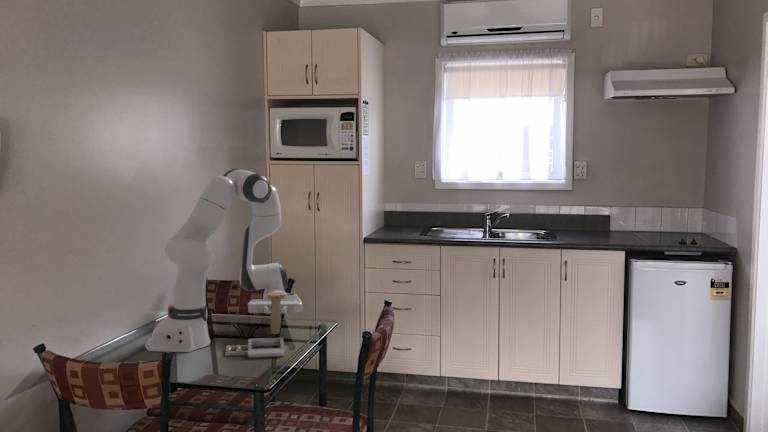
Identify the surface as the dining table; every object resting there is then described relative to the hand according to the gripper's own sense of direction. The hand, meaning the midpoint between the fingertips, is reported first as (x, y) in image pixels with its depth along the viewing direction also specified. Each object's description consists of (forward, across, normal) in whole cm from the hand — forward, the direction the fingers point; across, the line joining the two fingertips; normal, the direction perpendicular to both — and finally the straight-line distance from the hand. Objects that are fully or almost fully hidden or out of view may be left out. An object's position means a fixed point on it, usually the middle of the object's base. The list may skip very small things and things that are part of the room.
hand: (275, 311), depth 242 cm
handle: (-1, 0, +9) cm, 9 cm away
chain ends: (+10, -7, +11) cm, 17 cm away
